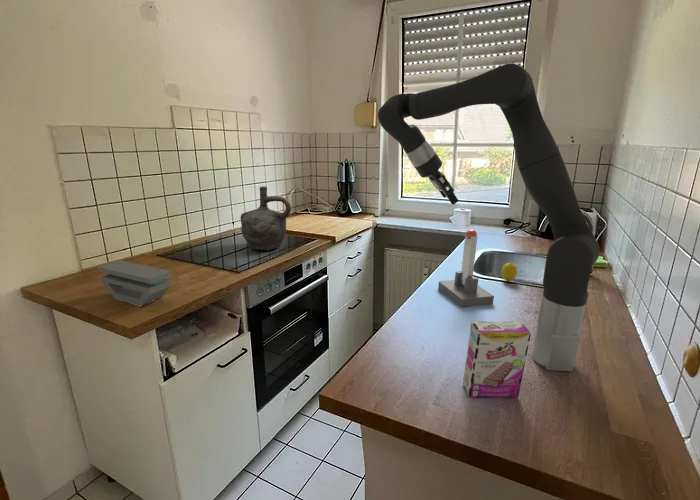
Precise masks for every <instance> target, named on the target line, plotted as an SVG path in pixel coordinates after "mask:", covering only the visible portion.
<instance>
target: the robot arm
mask: <svg viewBox="0 0 700 500" xmlns="http://www.w3.org/2000/svg"><path fill="white" fill-rule="evenodd" d="M479 105H496V106H498V107H499V108H500V110H501V111H502V114H503V115H504V117H505V119H506V121H507V124H508V126H509V128H510V131H511V134H512V138H513V147H514V154H515V160H516V164H517V168H518V170H519V173H520V177H521V179H522V181H523V183H524V185H525V188H526V190H527V191H528V194H529V195H530V196H531V198H532V199H533V201H534V202H535V203H536V205H537V206H538V207H539V208H540V210H541V211H542V213H544V215H545V216H546V218H547V221H548V223H549V226H550V228H551V231H552V234H553V238H554V241H553V242H552V243H551V245H550V246H549V248H548V250H547V254H546V259H545V265H544V273H543V278H542V286H543V291H542V297H541V303H540V307H539V308H540V309H539V313H538V320H537V325H536V330H535V335H534V340H533V347H532V352H531V358H532V359H533V360H534V362H536V363H537V364H538V365H540V366H542V367H544V369H545V370H546V371H556V372H557V371H559V372H560V371H561V372H573V370H574V366H575V363H576V357H577V353H578V348H579V344H580V339H581V338H580V333H581V328H582V323H583V319H584V316H585V315H584V314H585V311H586V307H587V306H586V305H587V303H588V298H589V291H588V287H589V282H590V277H591V272H592V268H593V266H594V265H595V264H596V262H597V261H598V259H599V256H600V254H601V253H600V246H599V243H598V241H597V239H596V237H595V235H594V233H593V231H592V230H591V228H590V225H589V223H588V222H587V220H586V218H585V217H584V214H583V213H582V210H581V208H580V205H579V202H578V200H577V196H576V193H575V189H574V187H573V184H572V181H571V178H570V176H569V173H568V169H567V167H566V164H565V161H564V159H563V157H562V155H561V152H560V150H559V147H558V145H557V142H556V141H555V138H554V137H553V135H552V133H551V131H550V129H549V128H548V126H547V123H546V121H545V119H544V117H543V115H542V112H541V109H540V105H539V102H538V97H537V94H536V90H535V85H534V82H533V78H532V76H531V75H530V73H529V72H528V71H527V70H526V69H525V68H524V67H523V66H522V65H519V64H517V63H506V64H502V65H500V66H496V67H495V68H492V69H490V70H487V71H485V72H483V73H480V74H478V75H476V76H473V77H471V78H469V79H465V80H462V81H459V82H456V83H452V84H449V85H445V86H441V87H437V88H432V89H428V90H424V91H420V92H417V93H414V92H413V93H411V92H408V93H399V94H398V93H397V94H395V95H392V96H391V97H389V98H388V99H387V100H386V101H385V102H384V104H382V106H381V107H380V108H379V109H378V112H377V120H378V123H379V124H380V126H381V127H382V129H383V130H384V131H385V132H386V133H387V134H388V135H390V136H391V137H392V138H393V139H394V140H395V141H397V142H398V144H399V146H401V148H402V150H403V151H404V152H405V154H406V156H407V159H408V160H409V162H410V163H411V164H412V166H413V167H414V169H415V170H416V172H417V173H418V174H419V176H420V178H422V179H423V178H428V180H429V181H430V183H431V185H432V186H433V187H435V189H437V190H438V192H439V193H440V194H441V196H442V197H443V198H444V199H445V198H447V199H448V201H449V203H450V204H451V205H455V204H456V203H458V202H459V199H458V198H457V196H456V193H454V191H455V189H454V188H453V187H452V185H451V183H450V182H449V180H448V178H447V177H446V176H445V174H444V173H443V172H441V171H440V168H441V167H442V166H443V162H442V160H441V158H440V157H439V155H438V154H437V153H436V151H435V149H434V148H433V146H432V144H431V143H430V142H429V141H428V140H427V138H426V137H425V135H424V134H423V132H422V131H421V129H420V127H419V126H418V125H417V124H414V123H413V124H408V123H407V122H406V121H405V119H406V118H408V117H411V118H412V119H414V120H417V121H420V120H427V119H431V118H432V119H433V118H437V117H441V116H444V115H448V114H450V113H452V112H455V111H458V110H460V109H462V108H466V107H471V106H479Z"/></svg>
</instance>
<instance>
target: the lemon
mask: <svg viewBox="0 0 700 500" xmlns="http://www.w3.org/2000/svg"><path fill="white" fill-rule="evenodd" d="M517 274H518V269H517V266H516V265H515V264H514V263H512V262H510V261H509V262H508V263H505V264H503V266H502V269H501V277H502V278H503V279H504V280H505V281H506V282H510V281H513V280H515V279H516V277H517Z"/></svg>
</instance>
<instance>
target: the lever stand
mask: <svg viewBox="0 0 700 500" xmlns="http://www.w3.org/2000/svg"><path fill="white" fill-rule="evenodd" d="M454 273H455V274H454V275H455V276H454V279H450V280H441V281H440V280H439V281H438V287H437V289H438V290H439V291H440V292H442V294H444V295H445V296H446V297H448V298H449V299H450V300H451V301H453V302H454V303H455V304H456V305H458V307H460V308H471V307H480V306H487V305H493V304H494V298H495V296H494V295H493V294H491V292H489V291H488V290H485V289H484V288H483V287H481V286H480V285H478V284H479V278H478V277H476V276H473V277H472V278H465V286H463V285H462V284H461V283H460V279H461V270H460V271H459V270H458V271H455V272H454Z"/></svg>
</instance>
